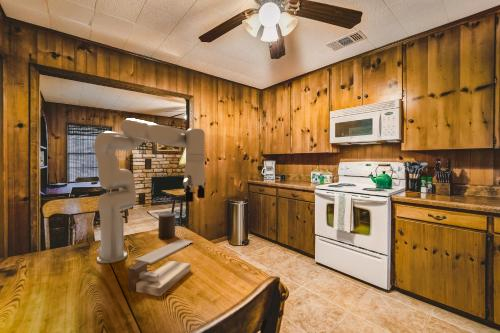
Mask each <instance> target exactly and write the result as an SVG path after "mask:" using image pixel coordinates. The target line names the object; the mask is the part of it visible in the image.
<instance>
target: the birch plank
mask: <svg viewBox="0 0 500 333" xmlns="http://www.w3.org/2000/svg"><path fill="white" fill-rule="evenodd" d="M190 271H191V263H189V262H182V261H175V260H174V261H173V260H169V261H167V262H166V263H164V264H162V266H160V267H158V268H157V269H155V270H154V271H152V272H151V273H157V274H159V280H157V281H156V282H153V281H147V280H140V281H139V282H137V283H136V291H135V292H138V293H141V294H147V295H152V296H157V297H161V296H162V295H164V293H166V292H167V291H168V290H169V289H171V288H172V287H173V286H174V285H175V284H176V283H178V282H179V281H180V280H181V279H183V278H184V277H185V276H186V275H188V274H189V272H190Z"/></svg>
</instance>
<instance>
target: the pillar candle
mask: <svg viewBox="0 0 500 333" xmlns="http://www.w3.org/2000/svg"><path fill="white" fill-rule="evenodd" d="M157 232H158V235H157V237H158V239H160V240H169V238H170V239H173V238H172V237H174V236H175V237H176V214H175V213H172V212H166V213H165V212H163V213H160V214H158V231H157ZM175 237H174V238H175Z"/></svg>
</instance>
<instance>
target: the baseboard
mask: <svg viewBox="0 0 500 333" xmlns="http://www.w3.org/2000/svg"><path fill="white" fill-rule="evenodd" d="M176 239H177V240H175V241H173V242H171V243H169V244H168V243H167V244H166V245H164V246H162V247H160V248H157V249H155V250H152V251H151V252H149V253H148V252H147V253H146V254H144V255H142V256H140V257H137V258H135V259H134V261H135V262H138V263H139V262H146V263H147V265H153V264H155V263H157V262H159V261H160V260H162V259H165V258H166V257H169V256H170V255H172V254H174V253H176V252H178V251H180V250H182V249H184V248H186V247H187V245H188V246H190V245H191V244H190V243H192V242H193V243H194V240H189V239H187V237H183V238H180V237H178V238H176ZM178 239H179V240H178ZM193 243H192V244H193ZM189 244H190V245H189ZM185 246H186V247H185Z"/></svg>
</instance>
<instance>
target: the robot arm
mask: <svg viewBox="0 0 500 333" xmlns="http://www.w3.org/2000/svg"><path fill="white" fill-rule="evenodd" d="M119 127H120V130H121V132H117V131H102V132H100V133H98V134H97V136H96V137H95V139H94V142H93V148H94V153H95V157H96V161H97V170H98V171H97V172H98V179H99V186H100V187H101V189H104V190H115V189H118V190H116V191H108V192H106V193H104V194H101V195H100V196H99V197H98V200H97V207H98V208H97V209H98V211H99V218H100V219H99V220H100V226H99V228H100V246H99V247H98V249H96V250H95V253H97V254H98V256H97V258H96V262H97V263H98V264H112V263H117V262H120V261H123V260H124V259H126V258H127V257H128V252H127V251H125V250H124V249H125V246H124V242H125V239H124V230H125V229H124V228H125V227H124V217H123V216H122V214H121V211H124V210H128V209H131V208H133V207H134V206H135V205H136V202H137V194H136V193H137V192H136V180H135V177H134V174H133V173H132V171H130V170H129V169H127V168H120V166H119V165H120V164H119V159H118V156H117V155H116V153H114V151H124V152H129V151H133V150H134V149H136V148H138V147H139V146H140V145H142V144H143V143H144V142H151V143H154V144H159V145H163V146H167V147H168V146H169V147H178V148H185V164H184V173H183V180H182V185H183V189H184V192H185V195H184V196H185V197H184V198H185V200H184V201H185V202H187V203H188V202H189V203H192V202H194V191H193V190H194V188H195V187H197V193H196V194H197V196H196V197H197V198H198V199H205V195H206V194H205V192H206V190H205V189H206V183H207V178H206V174H205V173H206V171H205V168H206V167H205V159H206V158H205V155H206V153H205V150H206V149H205V146H206V145H205V138H206V136H205V135H206V133H205V130H204V129H202V128H188V129H187V130H186V129H181V128H177V127H174V126H172V127H171V126H168V125H161V124H157V123H155V122H152V121H148V120H147V121H146V120H143V119H142V120H141V119H136V118H126V119H123V120H122V121H121V122H120V126H119Z"/></svg>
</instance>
